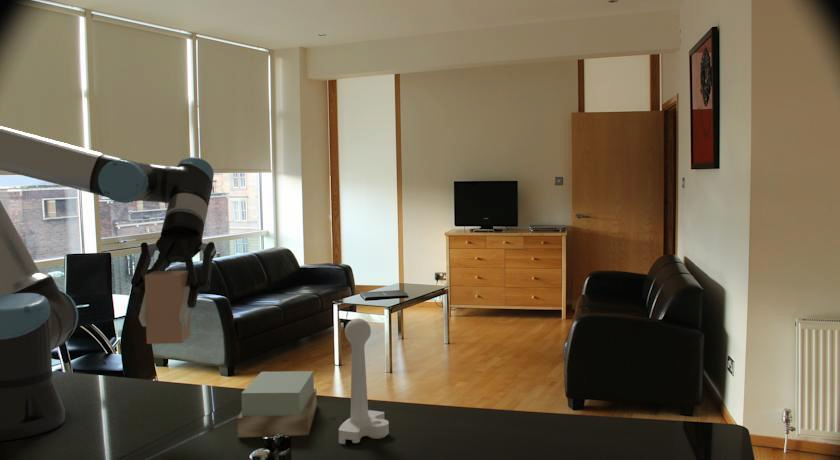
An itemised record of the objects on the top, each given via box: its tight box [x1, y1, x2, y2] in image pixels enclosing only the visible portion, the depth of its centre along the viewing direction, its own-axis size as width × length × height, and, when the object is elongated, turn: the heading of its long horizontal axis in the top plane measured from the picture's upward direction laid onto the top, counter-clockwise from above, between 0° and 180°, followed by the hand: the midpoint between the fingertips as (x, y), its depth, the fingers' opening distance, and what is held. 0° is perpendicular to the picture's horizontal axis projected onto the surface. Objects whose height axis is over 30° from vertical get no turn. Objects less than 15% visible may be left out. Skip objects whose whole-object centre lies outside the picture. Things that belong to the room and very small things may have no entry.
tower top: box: [240, 370, 315, 416], centre depth 127 cm, size 10×14×4 cm
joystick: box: [338, 318, 390, 445], centre depth 120 cm, size 11×8×20 cm
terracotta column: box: [145, 270, 192, 345], centre depth 124 cm, size 6×6×12 cm
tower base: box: [236, 388, 318, 438], centre depth 128 cm, size 12×16×4 cm
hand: (162, 321), depth 121 cm, fingers closed on terracotta column, 6 cm apart
